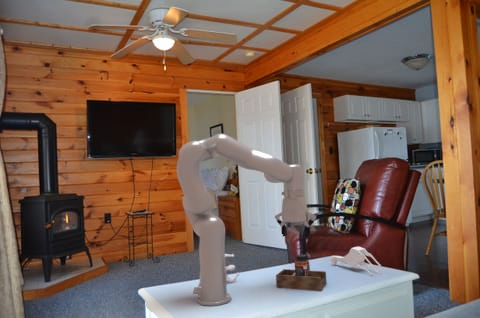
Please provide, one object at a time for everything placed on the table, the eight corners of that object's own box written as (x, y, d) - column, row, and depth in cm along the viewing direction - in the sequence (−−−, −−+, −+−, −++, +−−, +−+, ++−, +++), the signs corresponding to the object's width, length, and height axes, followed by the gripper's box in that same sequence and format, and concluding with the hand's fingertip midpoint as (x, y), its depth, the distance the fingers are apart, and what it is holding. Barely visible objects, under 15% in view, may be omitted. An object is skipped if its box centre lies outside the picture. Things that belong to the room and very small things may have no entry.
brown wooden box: (276, 287, 149) (275, 275, 149) (284, 281, 158) (283, 269, 158) (321, 291, 141) (320, 277, 141) (326, 283, 150) (325, 271, 150)
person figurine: (212, 266, 146) (232, 249, 162) (187, 271, 152) (209, 254, 168) (223, 297, 146) (242, 277, 162) (197, 301, 152) (218, 281, 168)
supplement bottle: (310, 285, 146) (309, 256, 146) (295, 285, 147) (293, 256, 147) (310, 281, 152) (308, 253, 152) (295, 281, 153) (294, 253, 153)
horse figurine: (373, 292, 163) (334, 262, 184) (382, 260, 159) (341, 232, 179) (365, 294, 161) (326, 263, 181) (375, 262, 156) (333, 234, 177)
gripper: (271, 195, 152) (272, 237, 151) (312, 194, 145) (314, 238, 144) (277, 194, 159) (279, 234, 158) (316, 193, 152) (319, 235, 151)
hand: (295, 236), depth 151 cm, fingers open, 9 cm apart
